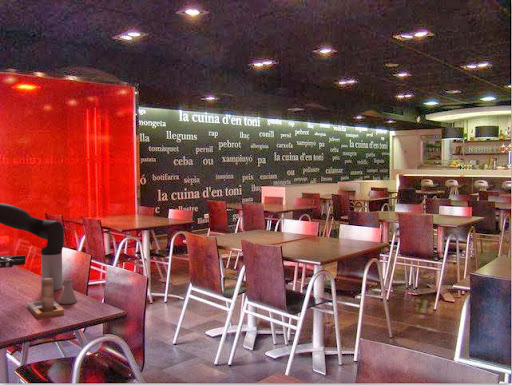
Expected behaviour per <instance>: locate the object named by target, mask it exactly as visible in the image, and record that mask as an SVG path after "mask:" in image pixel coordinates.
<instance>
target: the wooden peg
mask: <svg viewBox="0 0 512 385" xmlns="http://www.w3.org/2000/svg"><path fill="white" fill-rule="evenodd" d="M40 280H41V281H40V282H41V301H42V312H45V311H51V310H54V301H55V300H54V298H55V297H54V291H53V278H45V279H42V278H41V279H40Z"/></svg>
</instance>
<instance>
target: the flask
mask: <svg viewBox="0 0 512 385" xmlns="http://www.w3.org/2000/svg"><path fill="white" fill-rule="evenodd" d="M72 281H73V279H71V278H68V279H67V278H66V279H64V280H63V283H64V285H63V286H64V287H63V291H62V294H61V298H60V299H59V305H60V304H62V305H72V304H74V303H77V302H78V298H77V296H76V293H75V291H74V289H73V285H72Z"/></svg>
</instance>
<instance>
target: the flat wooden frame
mask: <svg viewBox="0 0 512 385" xmlns="http://www.w3.org/2000/svg"><path fill="white" fill-rule="evenodd" d="M27 309H29V311H30V312H31V313H32V315H33V316H34V317H35V318H36V319H37V320H38V319H45V318H51V317H56V316H57V317H58V316H62V315H65V311H64V310H65V309H64V308H63V307H62V306H61V305H60V304H59V303H57V302H56V300H54V310H51V311H45V312H42V300H37V301H31V302H29V301H28V302H27Z"/></svg>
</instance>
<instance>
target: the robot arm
mask: <svg viewBox="0 0 512 385" xmlns="http://www.w3.org/2000/svg"><path fill="white" fill-rule="evenodd" d="M0 224H1V225H4V226H7V227H10V228H13V229H15V230H19V231H24V232H28V233H30V234H32V235H34V236H36V237H39V238H40V239H43V240H47V241H46V245H45V246H44V247H42V248H41V250H40V258H41V280H42V279H45V278H53V292H54V291H58V290H62V289H64V287H63V286H64V285H63V284H64V281H63V248H64V239H65V238H64V237H65V236H64V235H65V233H64V230H65V229H64V225H63V223H62V222H60V221H58V220H49V219H41V218H38V217H34V216H32V215H31V214H30V213H29V212H27V211H26V210H24V209H22V208H20V207H18V206H15V205H11V204H8V203H4V202H3V203H1V202H0ZM25 265H26V255H24V254H23V255H13V254H7V255H6V254H5V255H0V269H5V268H13V267H15V266H25Z"/></svg>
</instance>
